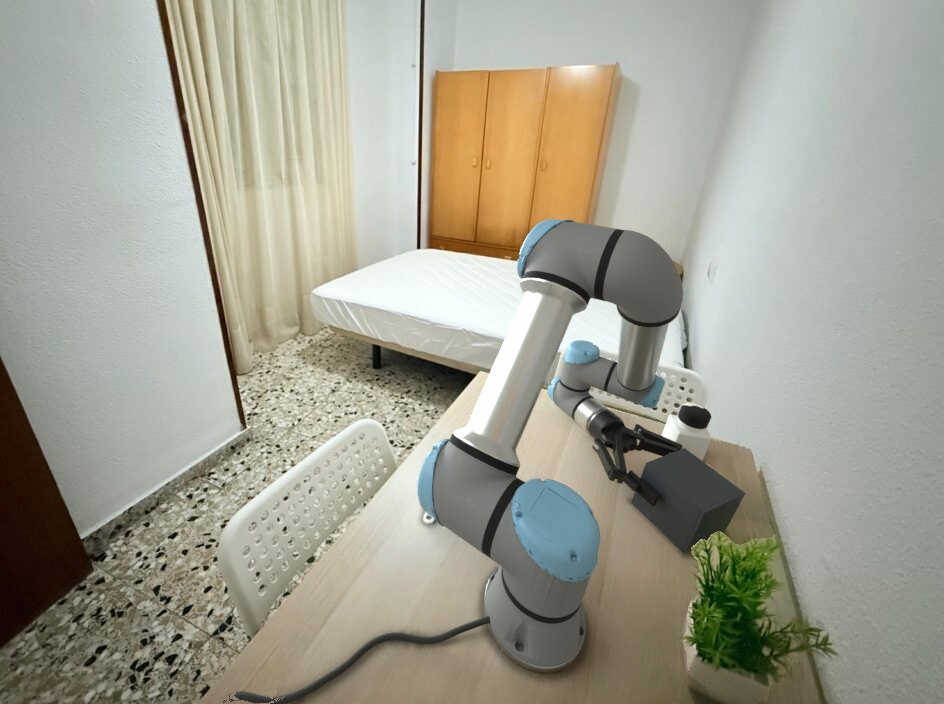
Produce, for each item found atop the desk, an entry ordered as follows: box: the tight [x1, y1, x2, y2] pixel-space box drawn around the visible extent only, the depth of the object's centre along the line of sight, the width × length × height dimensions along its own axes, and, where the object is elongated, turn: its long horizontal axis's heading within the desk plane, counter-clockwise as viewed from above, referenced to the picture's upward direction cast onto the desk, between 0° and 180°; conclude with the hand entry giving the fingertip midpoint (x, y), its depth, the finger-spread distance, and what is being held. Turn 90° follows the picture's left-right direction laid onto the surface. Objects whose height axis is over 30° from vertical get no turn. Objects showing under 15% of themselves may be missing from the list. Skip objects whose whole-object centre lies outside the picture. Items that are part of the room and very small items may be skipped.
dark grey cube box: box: [631, 448, 747, 555], centre depth 77 cm, size 12×11×11 cm
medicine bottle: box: [661, 402, 713, 462], centre depth 94 cm, size 7×7×12 cm
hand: (680, 490), depth 78 cm, fingers open, 13 cm apart
